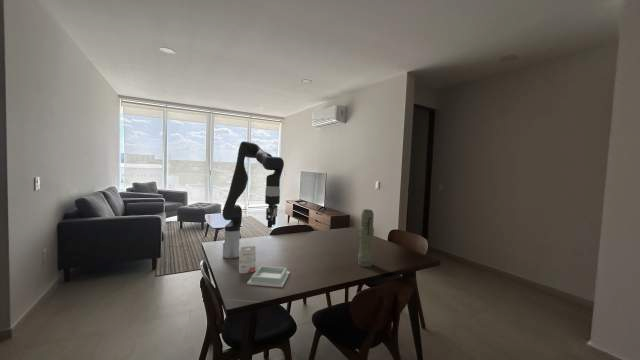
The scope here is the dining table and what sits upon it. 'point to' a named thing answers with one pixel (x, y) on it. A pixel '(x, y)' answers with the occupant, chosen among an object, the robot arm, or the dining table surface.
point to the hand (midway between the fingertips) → (271, 226)
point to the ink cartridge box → (247, 259)
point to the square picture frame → (269, 276)
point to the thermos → (366, 239)
